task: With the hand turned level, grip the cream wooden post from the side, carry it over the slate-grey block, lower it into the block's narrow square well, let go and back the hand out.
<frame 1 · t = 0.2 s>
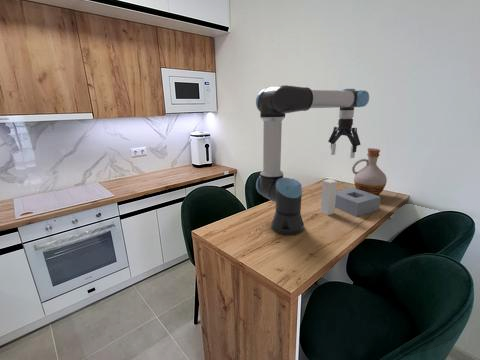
hand: (342, 156, 144), 27 cm above the worktop, tool pointing down, fingers open, 13 cm apart
well block: (353, 207, 142), on the worktop
jug: (366, 196, 157), on the worktop
post: (327, 212, 136), on the worktop
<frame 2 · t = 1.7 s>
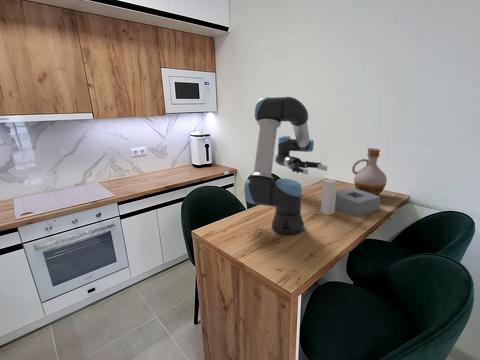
hand: (317, 170, 138), 22 cm above the worktop, tool horizontal, fingers open, 13 cm apart
nothing on the worktop moved.
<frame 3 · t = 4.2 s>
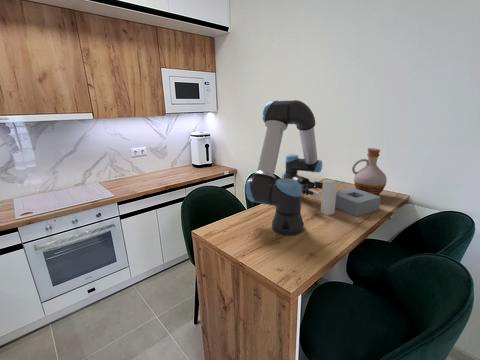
hand: (327, 192, 134), 11 cm above the worktop, tool horizontal, fingers open, 13 cm apart
nothing on the worktop moved.
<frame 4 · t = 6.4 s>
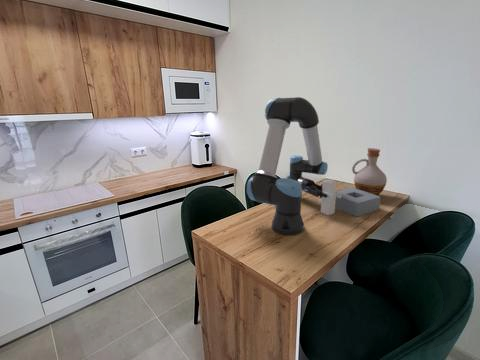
hand: (336, 196, 128), 11 cm above the worktop, tool horizontal, fingers closed on post, 5 cm apart
post: (327, 212, 136), on the worktop, touching gripper
everything else where it was.
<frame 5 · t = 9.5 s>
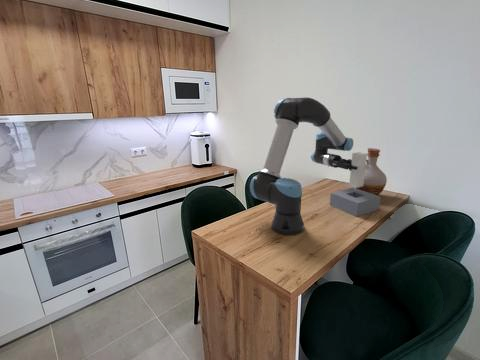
hand: (366, 168, 130), 24 cm above the worktop, tool horizontal, fingers closed on post, 5 cm apart
post: (356, 185, 138), point 13 cm above the worktop, touching gripper
everything else where it was.
when the fingers open (14 cm above the worktop, at t = 12.6 s): post drops 1 cm, resting on well block.
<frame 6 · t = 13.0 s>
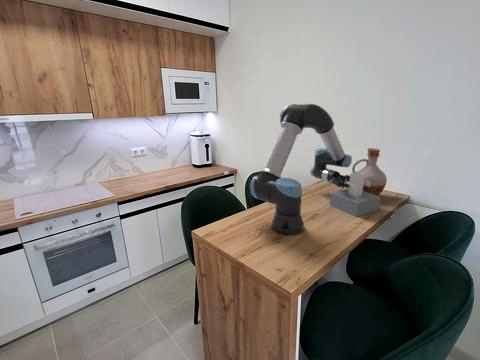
hand: (362, 185, 134), 14 cm above the worktop, tool horizontal, fingers open, 11 cm apart
post: (353, 204, 141), point 1 cm above the worktop, touching well block
everything else where it was.
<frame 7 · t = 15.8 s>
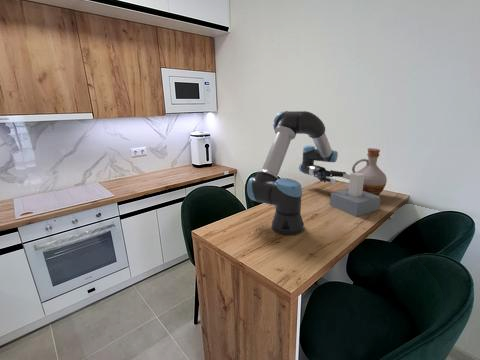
hand: (344, 179, 145), 14 cm above the worktop, tool horizontal, fingers open, 13 cm apart
nothing on the worktop moved.
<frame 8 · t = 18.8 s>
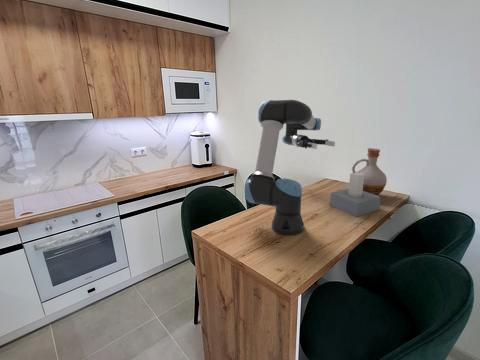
hand: (325, 145, 141), 34 cm above the worktop, tool horizontal, fingers open, 13 cm apart
nothing on the worktop moved.
at the end: post 0.1 cm off-centre on the well block, point 1.5 cm above the well block's base; post tilted 0°; the gripper is holding nothing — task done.
